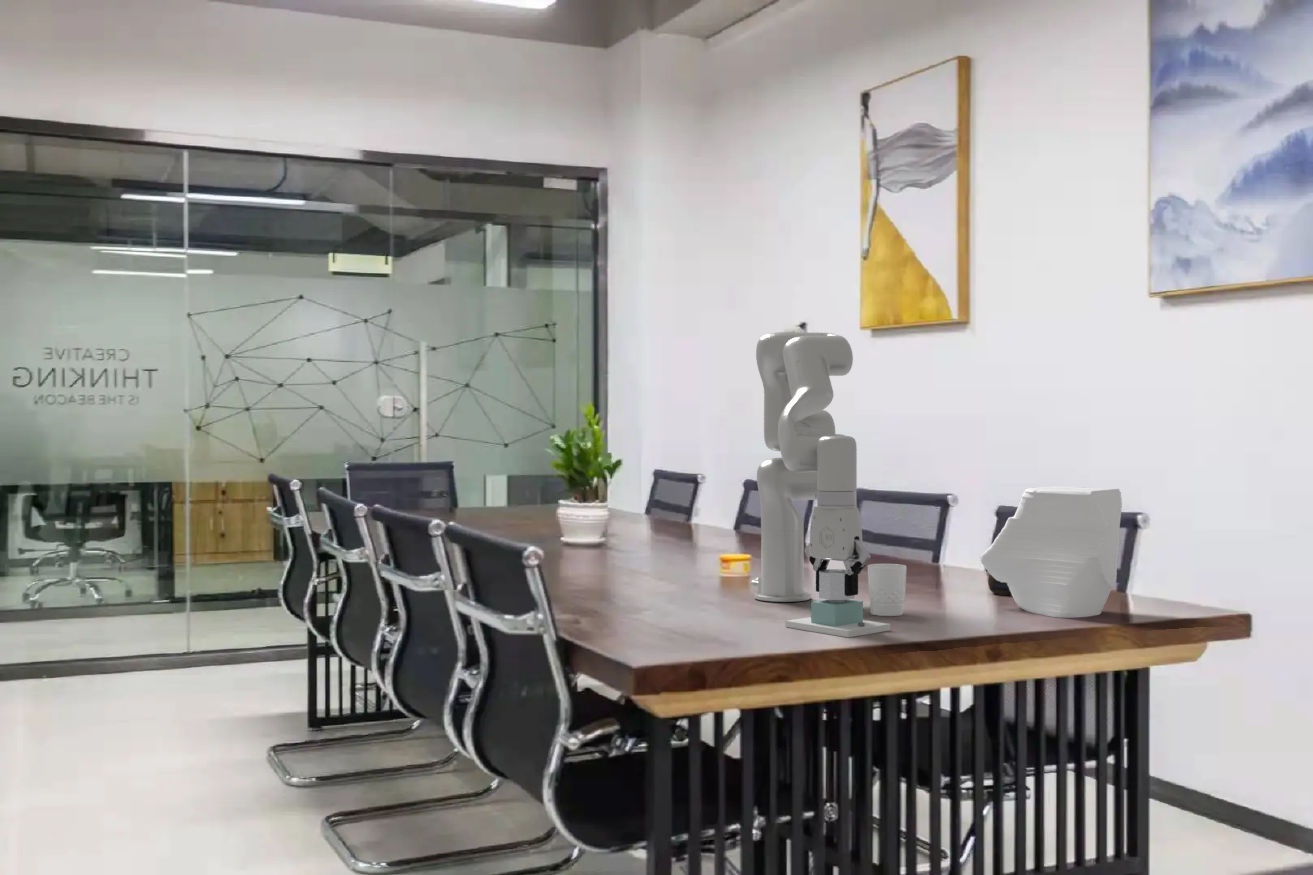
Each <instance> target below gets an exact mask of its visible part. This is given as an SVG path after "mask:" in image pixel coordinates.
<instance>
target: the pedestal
mask: <svg viewBox="0 0 1313 875" xmlns="http://www.w3.org/2000/svg"><path fill="white" fill-rule="evenodd" d="M829 572H830V573H845V571H838V570H834V571H829ZM810 606H811V608H810V611H811V612H810V616H809V617H801V618H796V619H795V618H793V619H789V620H788V619H787V620H785V621H784V623H785V624H784V627H785V628H787V629H789V628H790V629H795V630H800V631H807V632H812V633H813V632H814V633H820V634H825V635H832V636H838V637H844V638H853V637H857V636H859V637H860V636H864V635H870V634H878V633H882V632H883V633H884V632H889V631H891V623H885V622H879V621H872V620H867V619H866V620H864V601H863V600H855V599H848V600H828V599H821V600H815V601H811V602H810Z"/></svg>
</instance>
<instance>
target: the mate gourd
mask: <svg viewBox="0 0 1313 875" xmlns="http://www.w3.org/2000/svg"><path fill="white" fill-rule="evenodd" d="M987 580H988V581H987V582H988V583H987V584H988V588H989V590H990V592H992V593H993V594H994V595H997V596H998V595H1000V596H1012V594H1011V591H1010V589H1009V587H1008V585H1007V583H1006V582H1000V581H997V580H996V579H995V578H994V577H993V576H992V575H990V573H989V575H988V578H987Z"/></svg>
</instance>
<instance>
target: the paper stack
mask: <svg viewBox="0 0 1313 875" xmlns="http://www.w3.org/2000/svg"><path fill="white" fill-rule="evenodd" d="M1122 508H1123V501H1122V492H1121V490H1120V488H1108V487H1107V488H1105V487H1081V486H1058V485H1056V486H1055V485H1051V486H1038V487H1030V488H1025V490H1024V491H1023V493H1022V495H1021V499H1020V501H1019V504H1018V505H1017V508H1016V510H1015V513H1014V515H1013V516H1009V517H1008V518H1007V520H1006V522H1005V524H1004V526H1003V527H1002V529H1001V531H1000V532H999V533H998V534H997V536H996V537H995V538H994V541H993V543H991V545H990V546H989V547H988V548H987V549H985V551H984V552H983V553H982V554H981V555H980V558H979V559H980V563H981V564H982V566H983V567H984V568H985V570H986V571H987V572H988V573H989V574H990V575H992V576H993V577H994V578H995V579H996V580H997V581H1000V582H1006V583H1007V585H1008V587H1009V589H1010V591H1011V594H1012V595H1011V597H1013V599H1014V602H1015V604H1016V605H1017V606H1018V608H1021V609H1023V610H1024V611H1025V612H1029V613H1033V614H1037V615H1041V616H1047V617H1053V618H1061V619H1064V618H1066V619H1067V618H1069V619H1071V618H1072V619H1073V618H1088V617H1094V616H1099V615H1101V613H1102V612H1103V609H1104V607H1105V604H1106V602H1107V600H1108V598H1109V596H1110V593H1111V591H1112V589H1114V588H1115V586H1116V583H1117V577H1118V576H1117V575H1118V573H1117V572H1118V559H1119V552H1120V539H1121V538H1120V536H1121V529H1120V528H1121V527H1120V526H1121V525H1120V524H1121V519H1122V516H1121V515H1122Z"/></svg>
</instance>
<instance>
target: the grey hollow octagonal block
mask: <svg viewBox="0 0 1313 875" xmlns="http://www.w3.org/2000/svg"><path fill="white" fill-rule="evenodd" d="M834 570H838V571H845V573H830V572H829V571H834ZM845 575H848V574H847V571H846V569H844V568H843V569H842V568H841V569H839V568H837V569H835V568H834V569H832V568H831V569H830V568H828V569H826V570H819V592H818V598H819V599H821V600H848V599H850V600H855V596H856V595H853V596H845Z"/></svg>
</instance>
